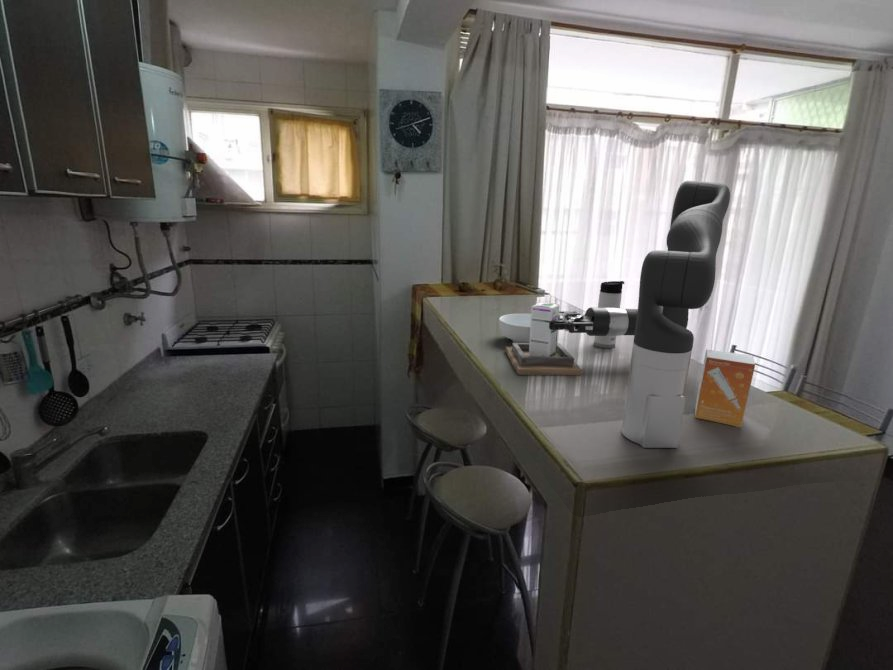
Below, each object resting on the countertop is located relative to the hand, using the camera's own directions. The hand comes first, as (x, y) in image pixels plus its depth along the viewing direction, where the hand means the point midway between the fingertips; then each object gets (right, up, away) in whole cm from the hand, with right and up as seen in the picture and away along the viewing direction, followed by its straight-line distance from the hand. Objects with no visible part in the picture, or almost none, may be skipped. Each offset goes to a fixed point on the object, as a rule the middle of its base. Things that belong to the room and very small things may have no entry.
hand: (545, 321), depth 118 cm
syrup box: (0, -10, +3) cm, 10 cm away
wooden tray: (-1, -11, +3) cm, 12 cm away
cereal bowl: (-1, -6, +23) cm, 24 cm away
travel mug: (+23, -7, +20) cm, 31 cm away
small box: (+28, -20, -28) cm, 45 cm away
